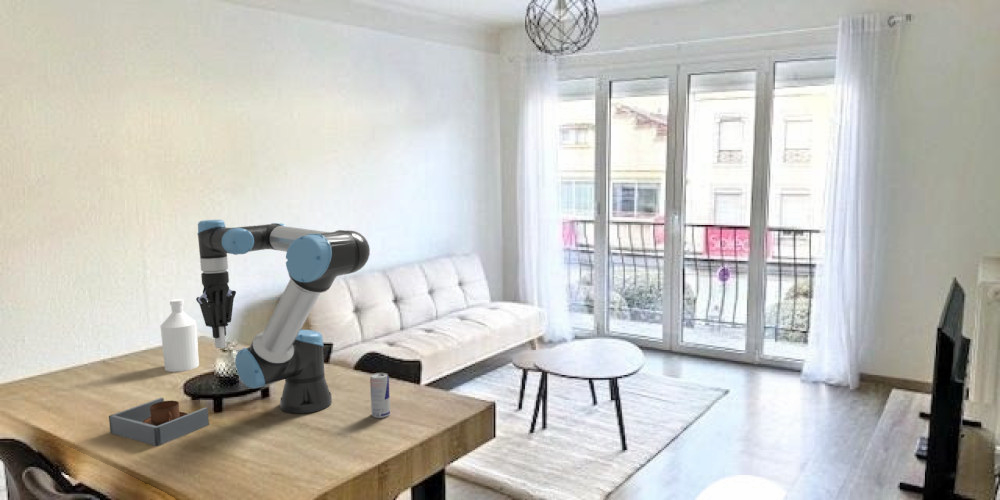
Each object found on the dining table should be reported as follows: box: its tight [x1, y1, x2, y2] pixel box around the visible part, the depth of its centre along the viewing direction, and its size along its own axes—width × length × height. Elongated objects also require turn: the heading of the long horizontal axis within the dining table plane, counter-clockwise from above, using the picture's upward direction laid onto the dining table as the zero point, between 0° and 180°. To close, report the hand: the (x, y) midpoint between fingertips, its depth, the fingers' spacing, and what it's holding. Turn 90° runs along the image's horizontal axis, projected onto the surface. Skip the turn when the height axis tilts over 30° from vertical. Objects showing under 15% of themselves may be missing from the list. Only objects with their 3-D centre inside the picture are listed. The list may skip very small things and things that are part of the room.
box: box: [108, 397, 210, 447], centre depth 187 cm, size 20×16×5 cm
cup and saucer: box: [143, 400, 188, 426], centre depth 189 cm, size 12×12×6 cm
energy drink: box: [369, 372, 391, 419], centre depth 194 cm, size 5×5×12 cm
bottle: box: [160, 298, 200, 373], centre depth 243 cm, size 12×12×25 cm
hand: (220, 347), depth 204 cm, fingers closed
